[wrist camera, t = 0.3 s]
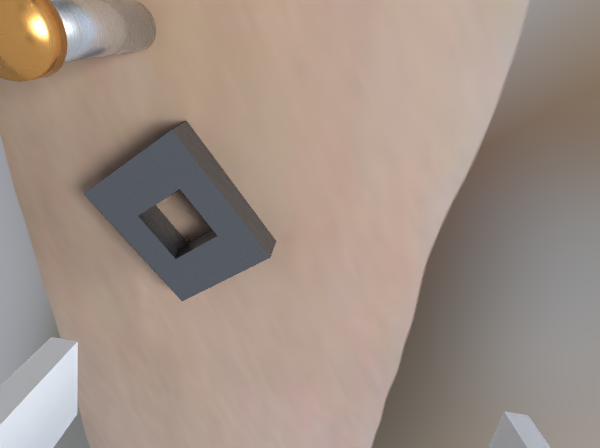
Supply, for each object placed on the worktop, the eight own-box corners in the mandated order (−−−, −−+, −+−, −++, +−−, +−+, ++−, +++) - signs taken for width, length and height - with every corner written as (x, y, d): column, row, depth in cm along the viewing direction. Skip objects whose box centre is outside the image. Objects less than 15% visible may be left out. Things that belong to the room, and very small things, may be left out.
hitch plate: (186, 120, 34) (171, 129, 31) (276, 241, 38) (269, 257, 36) (102, 181, 38) (83, 193, 35) (193, 283, 42) (182, 301, 40)
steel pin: (133, -24, 29) (-12, -50, 18) (174, 35, 31) (66, 46, 19) (93, 16, 31) (-63, 15, 19) (134, 70, 32) (12, 99, 21)
